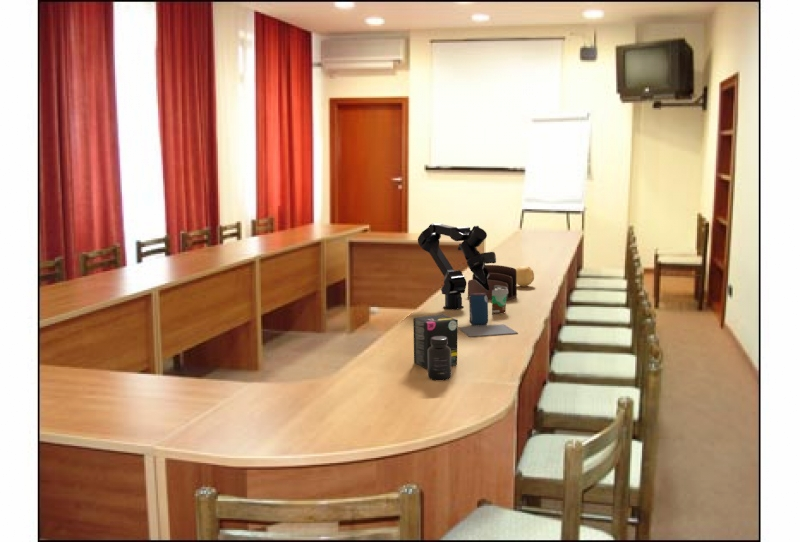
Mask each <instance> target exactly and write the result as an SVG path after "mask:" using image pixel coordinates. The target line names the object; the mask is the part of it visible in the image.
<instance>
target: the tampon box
mask: <svg viewBox="0 0 800 542" xmlns="http://www.w3.org/2000/svg"><path fill="white" fill-rule="evenodd" d="M412 319H413V321H412V322H413V364H416V365H417V366H420V367H422V368H423V369H425V370H427V371H428V348H429V347H430V346H432V345H431V337H433V336H445V337H447V342H448V344H447V346H449V347H450V349H451V367H455V366H456V365H457V366H458V330H459V329H458V323H459V321H458V319H456V318H453V317H451V316H449V315H445V314H435V315H425V316H417V317H413V318H412Z"/></svg>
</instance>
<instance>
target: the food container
mask: <svg viewBox="0 0 800 542" xmlns="http://www.w3.org/2000/svg"><path fill="white" fill-rule="evenodd" d="M507 294H508V289H507V287H504V286H497V285H494V289H493V290H492V299H491V310H492V311H491V315H500V314H499V313H503V314H505V313H506V309H507V301H506V297H507ZM504 312H505V313H504Z"/></svg>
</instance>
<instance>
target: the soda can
mask: <svg viewBox="0 0 800 542" xmlns="http://www.w3.org/2000/svg"><path fill="white" fill-rule="evenodd" d="M468 298H469V299H468V301H469V302H468V303H469V304H468V306H469V309H468V310H469V323H470V324H471V327H472V326H487V324H488V322H489V303H488V302H489V299H488V297H487V295H486V293H482V292H477V293H471V295H470V297H468Z"/></svg>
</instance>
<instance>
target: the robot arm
mask: <svg viewBox="0 0 800 542" xmlns="http://www.w3.org/2000/svg"><path fill="white" fill-rule="evenodd" d="M442 235H443V236H446V237H450V239H451V240H453V241H454V242H460V243H459V244H458V247H457V251H461V252H462V254H463V256H464V258H465V260H466V265H467V267H468V269H469V271H471V273H472V276H474V279H475V281H476V282H478V283H479V284H480V285H481V286H482V287H483V288H485V289H486V290H487V291H488V290H490V289H489V284H488V280H487V279H488V277H489V272H488V270H487V268H484V266H485V265H489V264H496V263H497V257H496V253H495V251H488V252H482V253H480V251H479V250H478V249H477V248H479V247H480V246H481V244H483V242H484V241H485V240H486V238H487V236H488V234H487V232H486V230H484V229H483V228H482V227H480V226H479V225H473V227H472V229H471V227H469V226H452V225H449V224H448V225H447V224H443V223H440V222H437V223H436V222H435V223H431V224H429V226H428V227H427V228H426V229H424V230H423V231H421V233H420V234H419V236H418V237H417V244H418V245H419V246H420V247H421V248H422V250H423V251H426V252H427V253H429V255H430V256H431V258H432V259H433V261H434V263H435V264H436V267H438V269H439V270H440V272H441V274H442V275H443V285H442V287H441V288H440V291H441V294H442V295H444V298H445V299H444V302H445V303H444V306H442V309H449V310H452V311H453V310H455V311H456V310H458V309H463V308H464V306H463V297H462V294H465V293H466V288H467V285H468V282H467V280H466V276H465V275H464V274H463V272H462V271H461V270H460V269H459V270H458V269H457V270H455V269H454V268H453V266H452V264H451V263H450V262H449V260H448V258H447V256H446V255H445V254H444V252H443V250H442V249H441V248H440V239H441V238H442Z"/></svg>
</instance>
